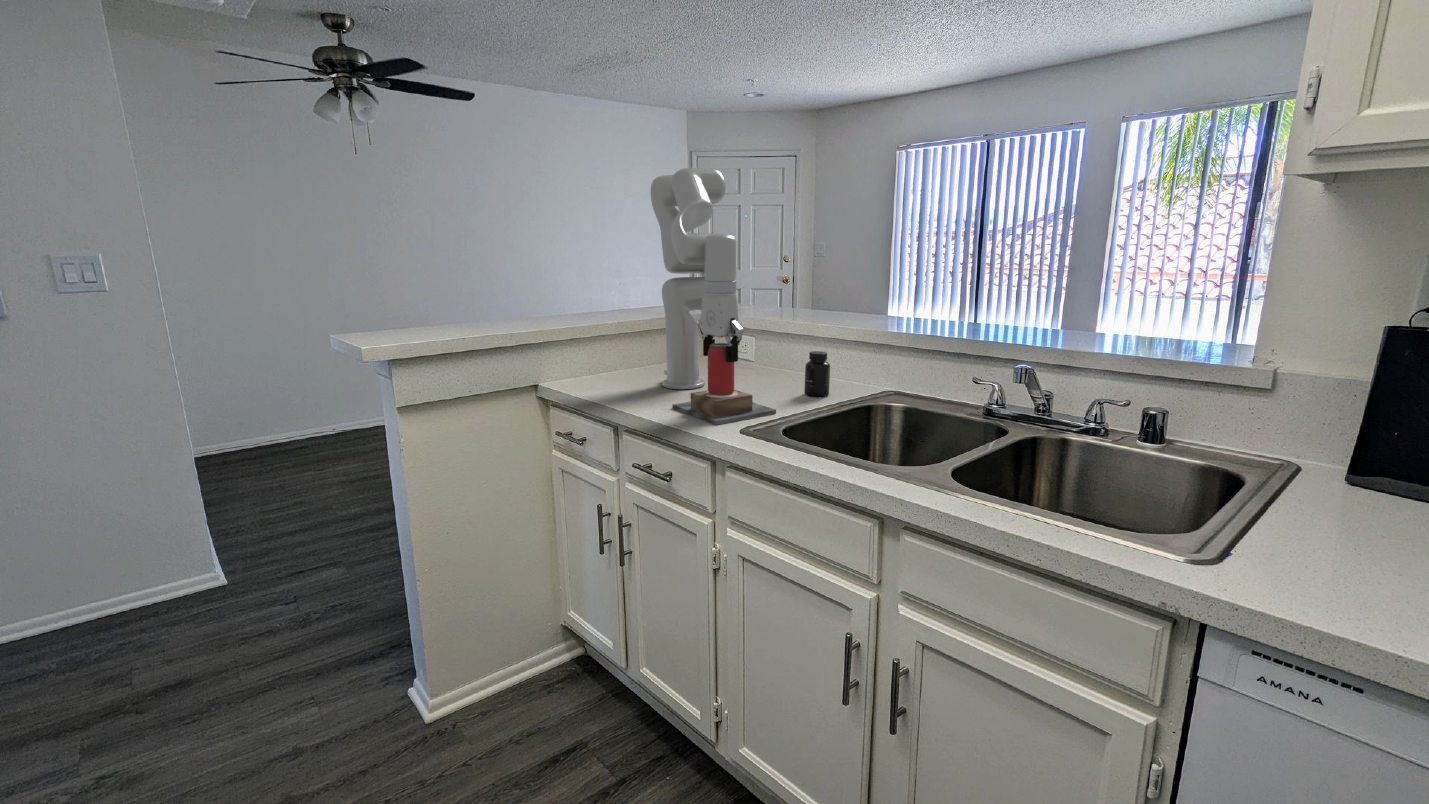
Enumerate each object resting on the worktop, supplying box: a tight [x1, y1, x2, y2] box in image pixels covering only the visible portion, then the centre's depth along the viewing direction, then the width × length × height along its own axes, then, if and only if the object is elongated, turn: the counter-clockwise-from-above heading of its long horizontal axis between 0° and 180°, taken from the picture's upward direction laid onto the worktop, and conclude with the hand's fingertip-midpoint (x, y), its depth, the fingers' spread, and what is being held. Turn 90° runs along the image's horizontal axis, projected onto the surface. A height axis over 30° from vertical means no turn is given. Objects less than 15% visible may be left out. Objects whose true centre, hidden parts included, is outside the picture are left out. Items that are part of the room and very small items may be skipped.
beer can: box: [707, 342, 735, 395], centre depth 165 cm, size 7×7×12 cm
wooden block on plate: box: [671, 389, 777, 426], centre depth 169 cm, size 20×18×5 cm
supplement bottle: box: [803, 350, 831, 399], centre depth 184 cm, size 7×7×12 cm
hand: (720, 358), depth 164 cm, fingers open, 9 cm apart
